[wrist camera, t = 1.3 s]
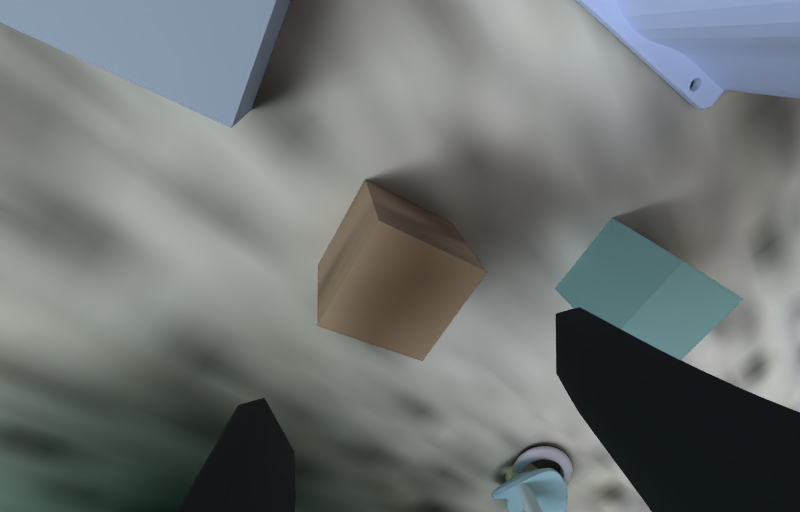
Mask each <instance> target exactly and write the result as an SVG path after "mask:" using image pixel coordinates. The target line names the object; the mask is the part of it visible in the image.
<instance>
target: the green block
mask: <svg viewBox="0 0 800 512" xmlns="http://www.w3.org/2000/svg"><path fill="white" fill-rule="evenodd" d="M555 289H556V290H557V291H558V292H559V293H560V294H561V296H562V297H563V298H564V299H565V300H566V301H567V302H568V303H569V304H570V305H571V306H572V307H573V308H578V307H580V308H582V309H584V310H586V311H588V312H590V313H592V314H594V315H596V316H597V317H599V318H601V319H603V320H605V321H607V322H609V323H610V324H612V325H614V326H616V327H618V328H620V329H621V330H623V331H625V332H627V333H629V334H631V335H633V336H634V337H636V338H638V339H640V340H642V341H644V342H646V343H648V344H650V345H651V346H653V347H655V348H657V349H659V350H661V351H663V352H665V353H667V354H669V355H671V356H673V357H675V358H677V359H679V360H681V359H682V358H683V357H684V356H686V355H687V354H688V353H689V352H690V351H691V350H692V349H693V348H694V347H695V346H696V345H697V344H698V343H699V342H700V341H701V340H702V339H703V338H704V337H705V336H706V335H707V334H708V333H709V332H710V331H711V330H712V329H713V328H714V327H715V326H716V325H717V324H718V323H720V322H721V321H722V320H723V319H724V318H725V317H726V316H727V315H728V314H729V313H730V312H731V311H732V310H733V309H734V308H735V307H736V306H737V305H738V304H739V303H740V302H741V301H742V300H743V298H741V297H740V296H738V295H737V294H735V293H733V292H732V291H730V290H729V289H727V288H726V287H724V286H722V285H721V284H719V283H718V282H716V281H715V280H713V279H711V278H710V277H708V276H707V275H705V274H704V273H702V272H700V271H699V270H697V269H696V268H694V267H693V266H691V265H689V264H688V263H686V262H685V261H683V260H681V259H680V258H678V257H676V256H675V255H673V254H672V253H670V252H668V251H667V250H665V249H663V248H662V247H660V246H658V245H657V244H655V243H653V242H652V241H650V240H648V239H647V238H645V237H643V236H642V235H640V234H638V233H637V232H635V231H633V230H632V229H630V228H628V227H627V226H625V225H623V224H622V223H620V222H618V221H617V220H615V219H613V218H612V219H611V220H610V221H609V223H608V224H607V225H606V226H605V228H604V229H603V230H602V231H601V232H600V234H599V235H598V236H597V237H596V239H595V240H594V241H593V242H592V244H591V245H590V246H589V247H588V249H587V250H586V251H585V252H584V253H583V255H582V256H581V257H580V258H579V260H578V261H577V262H576V263H575V265H574V266H573V267H572V268H571V270H570V271H569V272H568V273H567V274H566V276H565V277H564V278H563V279H562V281H561V282H560V283H559V284H558V286H557V287H556V288H555Z"/></svg>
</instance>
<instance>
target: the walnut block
mask: <svg viewBox="0 0 800 512" xmlns="http://www.w3.org/2000/svg"><path fill="white" fill-rule="evenodd" d="M486 273H487V271H486V269H485V268H484V267H483V265H482V264H481V263H480V261H479V260H478V259H477V257H476V256H475V254H474V253H473V252H472V250H471V249H470V248H469V246H468V245H467V244H466V242H465V241H464V239H463V238H462V237H461V235H460V234H459V233H458V231H457V230H456V229H455V227H454V226H453V224H452V223H450V222H448V221H446V220H444V219H442V218H440V217H438V216H436V215H434V214H432V213H430V212H428V211H426V210H424V209H422V208H420V207H418V206H416V205H415V204H413V203H411V202H409V201H407V200H405V199H403V198H401V197H399V196H397V195H395V194H393V193H391V192H389V191H387V190H385V189H383V188H381V187H379V186H377V185H375V184H373V183H371V182H370V181H368V180H366V179H365V180H364V182H363V184H362V186H361V188H360V190H359V191H358V193H357V195H356V197H355V199H354V201H353V202H352V204H351V206H350V208H349V210H348V212H347V213H346V215H345V217H344V219H343V221H342V223H341V224H340V226H339V228H338V230H337V232H336V234H335V235H334V237H333V239H332V241H331V243H330V244H329V246H328V248H327V250H326V252H325V254H324V255H323V257H322V259H321V261H320V263H319V265H318V326H320V327H323V328H326V329H329V330H331V331H334V332H337V333H340V334H343V335H346V336H349V337H352V338H355V339H358V340H361V341H364V342H367V343H370V344H373V345H376V346H379V347H382V348H385V349H388V350H391V351H394V352H397V353H400V354H403V355H406V356H409V357H412V358H415V359H418V360H421V361H423V360H424V358H425V357H426V355H427V354H428V353H429V351H430V350H431V349H432V347H433V346H434V344H435V343H436V342H437V340H438V339H439V338H440V336H441V335H442V333H443V332H444V331H445V329H446V328H447V327H448V325H449V324H450V322H451V321H452V320H453V318H454V317H455V316H456V314H457V313H458V311H459V310H460V309H461V307H462V306H463V305H464V303H465V302H466V300H467V299H468V298H469V296H470V295H471V294H472V292H473V291H474V289H475V288H476V287H477V285H478V284H479V283H480V281H481V280H482V278H483V277H484V276H485V274H486Z"/></svg>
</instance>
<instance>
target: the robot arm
mask: <svg viewBox="0 0 800 512" xmlns="http://www.w3.org/2000/svg"><path fill="white" fill-rule="evenodd" d="M576 1H578V2H579V3H580V4H581V5H582V6H583V7H584V8H585V9H586V10H587V11H589V12H590V13H591V14H592V15H593V16H594V17H595V18H596V19H597V20H598V21H600V22H601V23H602V24H603V25H604V26H605V27H606V28H607V29H608V30H610V31H611V32H612V33H613V34H614V35H615V36H616V37H617V38H618V39H619V40H621V41H622V42H623V43H624V44H625V45H626V46H627V47H628V48H629V49H630V50H632V51H633V52H634V53H635V54H636V55H637V56H638V57H639V58H640V59H641V60H643V61H644V62H645V63H646V64H647V65H648V66H649V67H650V68H651V69H653V70H654V71H655V72H656V73H657V74H658V75H659V76H660V77H661V78H662V79H664V80H665V81H666V82H667V83H668V84H669V85H670V86H671V87H672V88H673V89H675V90H676V91H677V92H678V93H679V94H680V95H681V96H682V97H683V98H685V99H686V100H687V101H688V102H689V103H690V104H691V105H692V106H693V107H695V108H698V109H707V108H709V107H711V106H712V105H713V104H714V103H715V102H716V100H717V99H718V98H719V97H720V96H721V94H722V93H723V92H724V91H725V90H729V91H738V92H747V93H755V94H764V95H773V96H781V97H790V98H799V99H800V0H576ZM693 80H694V84H693V86H692V87H691V88H690V84H691V82H692V81H693ZM556 371H557V375H558V377H559V379H560V380H561V382H562V384H563V386H564V388H565V389H566V391H567V393H568V395H569V396H570V398H571V400H572V401H573V403H574V405H575V407H576V408H577V410H578V412H579V413H580V414H581V416H582V417H583V418H584V420H585V421H586V423H587V424H588V425H589V427H590V428H591V429H592V431H593V432H594V434H595V435H596V436H597V438H598V439H599V440H600V442H601V443H602V444H603V446H604V447H605V449H606V450H607V451H608V453H609V454H610V455H611V457H612V458H613V459H614V461H615V462H616V463H617V465H618V466H619V467H620V469H621V470H622V471H623V473H624V474H625V475H626V477H627V478H628V480H629V481H630V482H631V484H632V485H633V486H634V488H635V489H636V490H637V492H638V493H639V494H640V496H641V497H642V498H643V500H644V501H645V503H646V504H647V506H648V507H649V508H650V510H651V511H652V512H800V413H799V412H797V411H794V410H792V409H789V408H787V407H784V406H782V405H779V404H777V403H774V402H772V401H769V400H767V399H764V398H762V397H759V396H757V395H755V394H752V393H750V392H748V391H745V390H743V389H741V388H739V387H736V386H734V385H732V384H730V383H728V382H725V381H723V380H721V379H719V378H717V377H715V376H712V375H710V374H708V373H706V372H704V371H702V370H699V369H697V368H695V367H693V366H691V365H689V364H687V363H685V362H683V361H681V360H679V359H677V358H675V357H673V356H671V355H669V354H667V353H665V352H663V351H661V350H659V349H657V348H655V347H653V346H651V345H650V344H648V343H646V342H644V341H642V340H640V339H638V338H636V337H634V336H633V335H631V334H629V333H627V332H625V331H623V330H621V329H620V328H618V327H616V326H614V325H612V324H610V323H609V322H607V321H605V320H603V319H601V318H599V317H597V316H596V315H594V314H592V313H590V312H588V311H586V310H584V309H582V308H580V307H578V308H574V309H571V310H567V311H564V312H560V313H557V314H556ZM294 509H295V465H294V450H293V449H292V447H291V445H290V443H289V441H288V440H287V438H286V436H285V434H284V432H283V431H282V429H281V427H280V425H279V423H278V422H277V420H276V418H275V416H274V414H273V413H272V411H271V409H270V407H269V405H268V404H267V402H266V400H265V398H262V399H258V400H255V401H251V402H248V403H244V404H241V405H238V407H237V409H236V410H235V412H234V414H233V415H232V417H231V419H230V420H229V422H228V424H227V426H226V427H225V429H224V431H223V433H222V434H221V436H220V438H219V440H218V441H217V443H216V445H215V447H214V448H213V450H212V452H211V453H210V455H209V457H208V459H207V460H206V462H205V464H204V466H203V467H202V469H201V471H200V472H199V474H198V476H197V477H196V479H195V481H194V482H193V484H192V486H191V487H190V489H189V491H188V493H187V494H186V496H185V498H184V499H183V501H182V503H181V504H180V506H179V507H178V509H177V511H176V512H294Z"/></svg>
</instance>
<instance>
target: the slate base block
mask: <svg viewBox="0 0 800 512" xmlns="http://www.w3.org/2000/svg"><path fill="white" fill-rule="evenodd" d="M290 1H291V0H0V22H1V23H3V24H5V25H7V26H10V27H12V28H14V29H16V30H18V31H21V32H23V33H25V34H27V35H29V36H31V37H34V38H36V39H38V40H40V41H42V42H45V43H47V44H49V45H51V46H53V47H56V48H58V49H60V50H62V51H64V52H66V53H69V54H71V55H73V56H75V57H77V58H80V59H82V60H84V61H86V62H88V63H91V64H93V65H95V66H97V67H99V68H101V69H104V70H106V71H108V72H110V73H112V74H115V75H117V76H119V77H121V78H123V79H126V80H128V81H130V82H132V83H134V84H136V85H139V86H141V87H143V88H145V89H147V90H150V91H152V92H154V93H156V94H158V95H161V96H163V97H165V98H167V99H169V100H171V101H174V102H176V103H178V104H180V105H182V106H185V107H187V108H189V109H191V110H193V111H196V112H198V113H200V114H202V115H204V116H206V117H209V118H211V119H213V120H215V121H217V122H220V123H222V124H224V125H226V126H228V127H231V128H232V127H233V126H234V125H235V124H236V123H237V122H238V121H239V120H241V119H242V118H243V117H244V116H245V115H246V114H247V113H248V112H249V111H250V110H251V109H252V106H253V103H254V100H255V98H256V95H257V92H258V89H259V87H260V84H261V81H262V78H263V76H264V73H265V70H266V67H267V65H268V62H269V59H270V56H271V54H272V51H273V48H274V45H275V43H276V40H277V37H278V34H279V32H280V29H281V26H282V23H283V21H284V18H285V15H286V12H287V10H288V7H289V4H290Z"/></svg>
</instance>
